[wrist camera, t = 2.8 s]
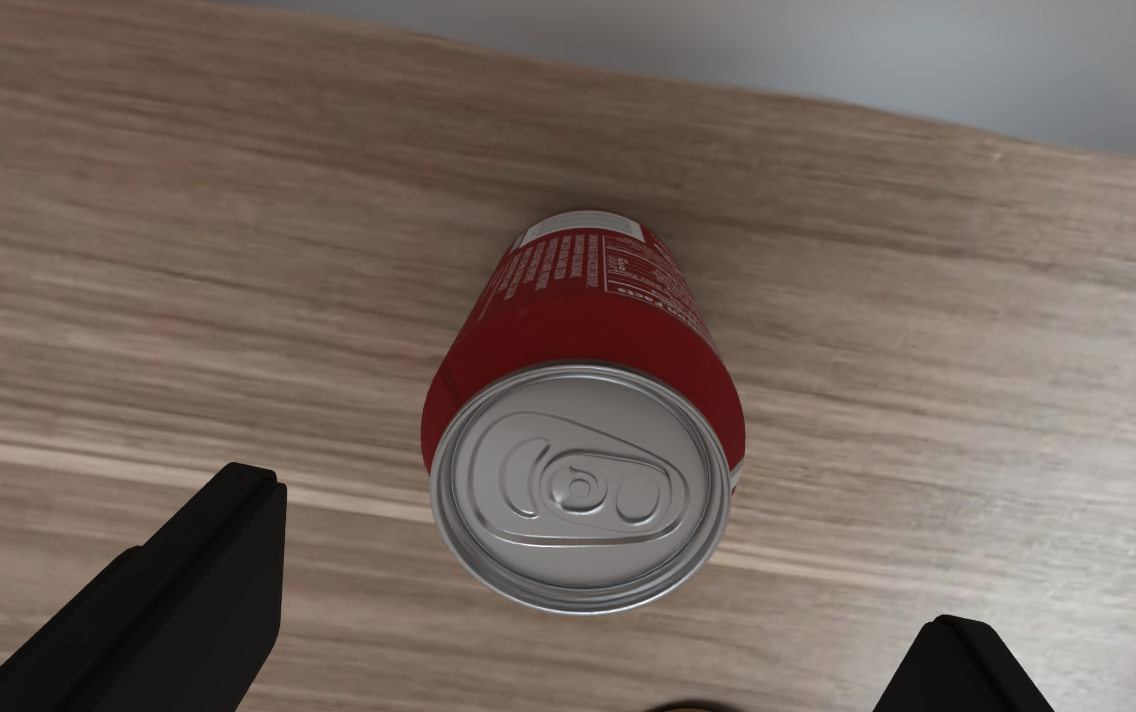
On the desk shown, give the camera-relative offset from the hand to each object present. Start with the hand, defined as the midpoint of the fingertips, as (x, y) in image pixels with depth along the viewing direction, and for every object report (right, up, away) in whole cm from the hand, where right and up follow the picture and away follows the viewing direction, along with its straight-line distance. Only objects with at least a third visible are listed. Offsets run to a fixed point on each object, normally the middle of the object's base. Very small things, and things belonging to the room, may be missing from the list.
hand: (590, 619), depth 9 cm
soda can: (0, +6, +14) cm, 15 cm away
